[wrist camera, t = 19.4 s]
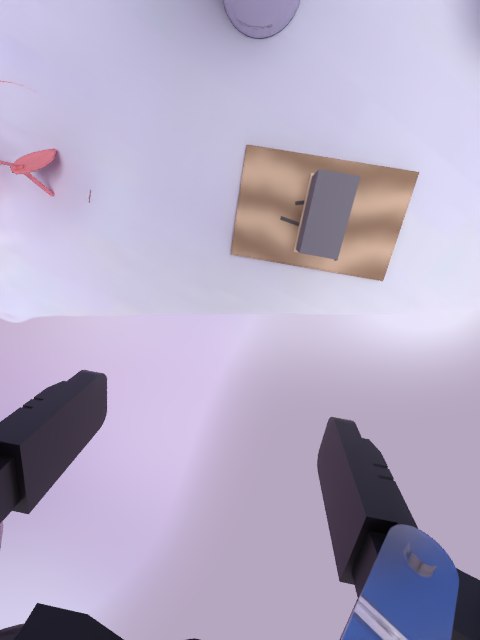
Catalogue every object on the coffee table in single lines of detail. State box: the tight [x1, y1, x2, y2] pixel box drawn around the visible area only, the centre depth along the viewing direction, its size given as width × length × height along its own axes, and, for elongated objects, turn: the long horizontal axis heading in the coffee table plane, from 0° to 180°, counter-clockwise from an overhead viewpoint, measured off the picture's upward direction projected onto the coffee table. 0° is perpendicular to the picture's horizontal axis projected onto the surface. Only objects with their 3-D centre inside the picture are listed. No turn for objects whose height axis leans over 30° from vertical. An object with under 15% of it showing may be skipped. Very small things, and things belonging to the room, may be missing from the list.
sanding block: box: [293, 169, 360, 260], centre depth 36 cm, size 10×5×6 cm, turn 171°
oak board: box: [231, 145, 419, 281], centre depth 39 cm, size 14×22×2 cm, turn 81°
